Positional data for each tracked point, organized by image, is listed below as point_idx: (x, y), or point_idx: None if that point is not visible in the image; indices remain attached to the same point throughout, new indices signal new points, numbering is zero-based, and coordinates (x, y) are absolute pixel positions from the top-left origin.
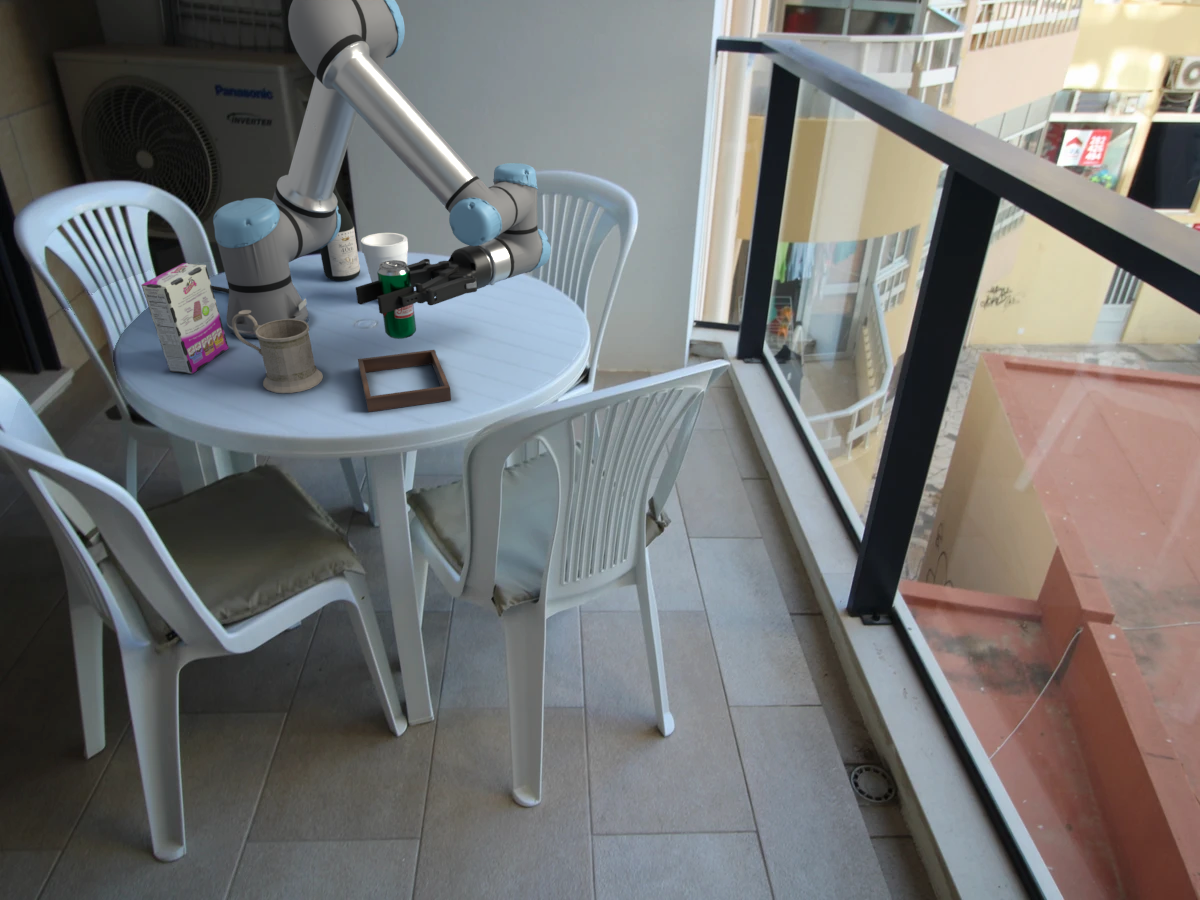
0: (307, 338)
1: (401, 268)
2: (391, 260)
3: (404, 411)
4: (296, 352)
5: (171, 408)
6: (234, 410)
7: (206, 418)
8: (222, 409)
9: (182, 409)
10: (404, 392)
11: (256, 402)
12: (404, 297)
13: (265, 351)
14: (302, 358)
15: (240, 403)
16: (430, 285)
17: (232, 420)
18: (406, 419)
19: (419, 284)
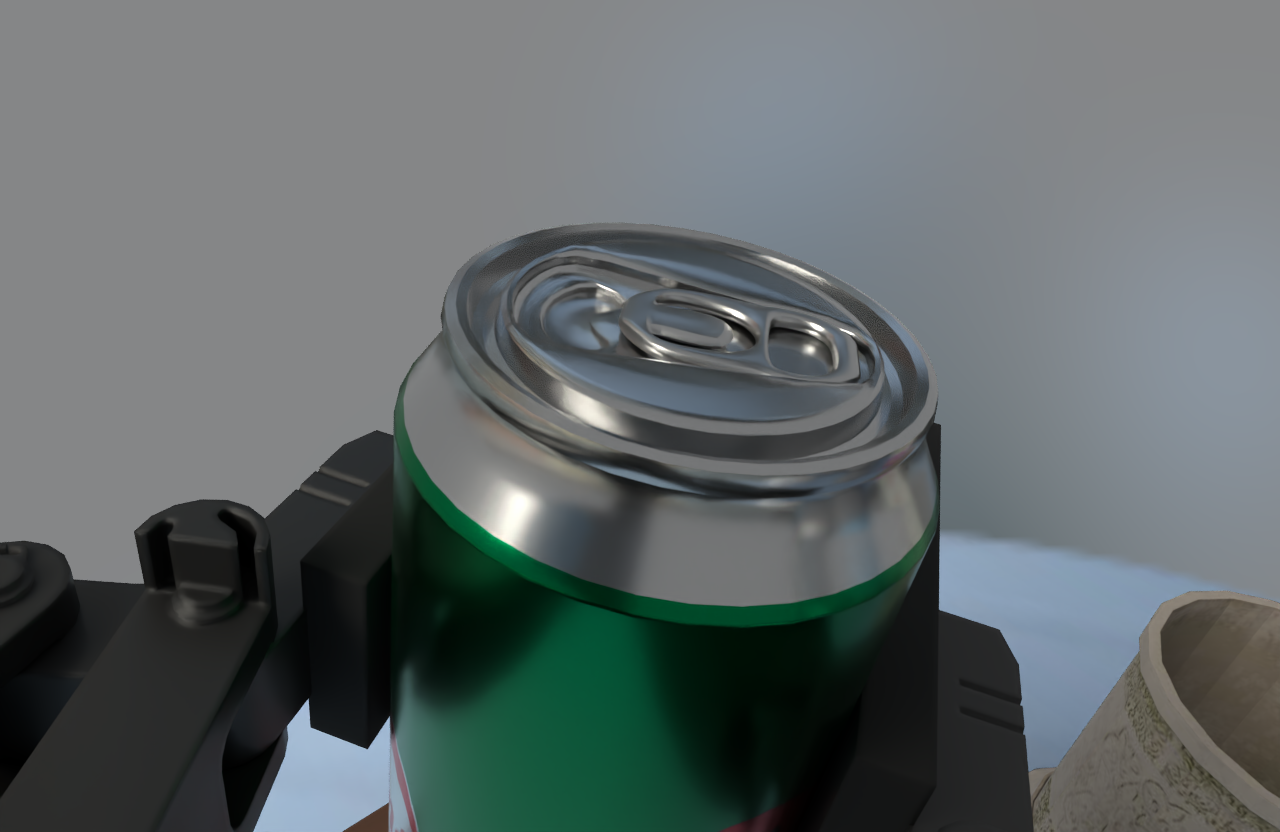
0: (1180, 784)
1: (464, 264)
2: (883, 436)
3: (359, 819)
4: (1107, 722)
5: (1187, 579)
6: (1025, 617)
7: (1035, 560)
8: (1063, 612)
9: (1156, 582)
10: (375, 826)
11: (1029, 682)
12: (355, 443)
13: (1208, 661)
14: (1086, 774)
15: (1065, 660)
16: (16, 795)
17: (958, 569)
18: (315, 752)
19: (178, 508)
